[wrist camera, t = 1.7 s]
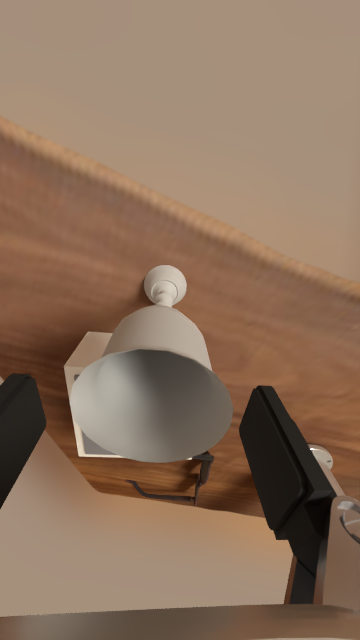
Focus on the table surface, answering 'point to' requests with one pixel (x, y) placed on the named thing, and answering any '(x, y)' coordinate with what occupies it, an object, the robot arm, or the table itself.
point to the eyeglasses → (200, 481)
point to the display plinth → (78, 361)
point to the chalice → (154, 383)
